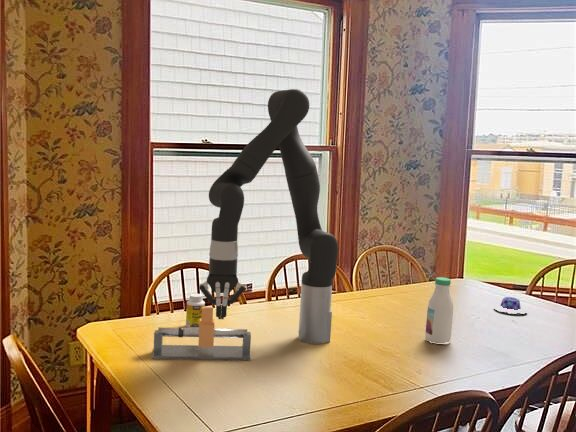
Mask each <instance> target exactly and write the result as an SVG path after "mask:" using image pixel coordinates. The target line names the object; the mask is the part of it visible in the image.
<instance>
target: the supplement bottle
mask: <svg viewBox="0 0 576 432" xmlns="http://www.w3.org/2000/svg"><path fill="white" fill-rule="evenodd" d="M203 295H204V294H203V293H202V294H201V293H191V294H189V299H188V300H187V301H186V313H185V314H186V315H185V316H186V317H185V318H186V319H185V326H186V328H199V323H200V319H202V307H206V305H205V304H206V302H205V301H204V300H203V299H204V298H203Z"/></svg>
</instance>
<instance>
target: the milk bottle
mask: <svg viewBox="0 0 576 432" xmlns="http://www.w3.org/2000/svg"><path fill="white" fill-rule="evenodd" d="M451 282H452V281H451V278H448V277H436V278H435V280H434V285H435V287H434V290H433V293H432V295H431V296H430V298H429V300H428V305H427V311H426V312H427V314H426V325H425V333H424V334H425V336H424V339H425V341H426V340H428V341H431V342H435V343H445V342H449V341H450V340H451V339H452V329H453V320H454V319H453V318H454V317H453V316H454V302H453V298H452V295H451V292H450V287H451ZM450 342H451V341H450Z"/></svg>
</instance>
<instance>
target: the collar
mask: <svg viewBox="0 0 576 432" xmlns="http://www.w3.org/2000/svg"><path fill="white" fill-rule="evenodd" d="M213 315H214V306H205V307H202V319H200V323H199V337H198V347H213V346H214V343H215V341H214V339H215V337H214V329H215V319H214V317H213Z"/></svg>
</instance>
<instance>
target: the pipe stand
mask: <svg viewBox="0 0 576 432" xmlns="http://www.w3.org/2000/svg"><path fill="white" fill-rule="evenodd" d="M163 337H166V338H167V337H172V338H173V337H174V338H177V337H178V338H199V328H188V327H184V326H183V327H182V326H178V327H158V329H156V330H154V332H153V353H152V356H151V357H152V358H151V359H152V360H185V361H186V360H188V361H189V360H191V361H192V360H193V361H194V360H195V361H196V360H197V361H200V360H201V361H202V360H203V361H251V358H252V357H251V343H252V341H251V340H252V333H251V331H248V328H214V338H222V339H224V338H225V339H227V338H228V339H229V338H231V339H234V338H235V339H242V346H241V345H213V347H198V345H199V344H198V345H196V344H194V345H192V344H191V345H190V344H189V345H187V344H183V345H181V344H163V340H164V339H163Z"/></svg>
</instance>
